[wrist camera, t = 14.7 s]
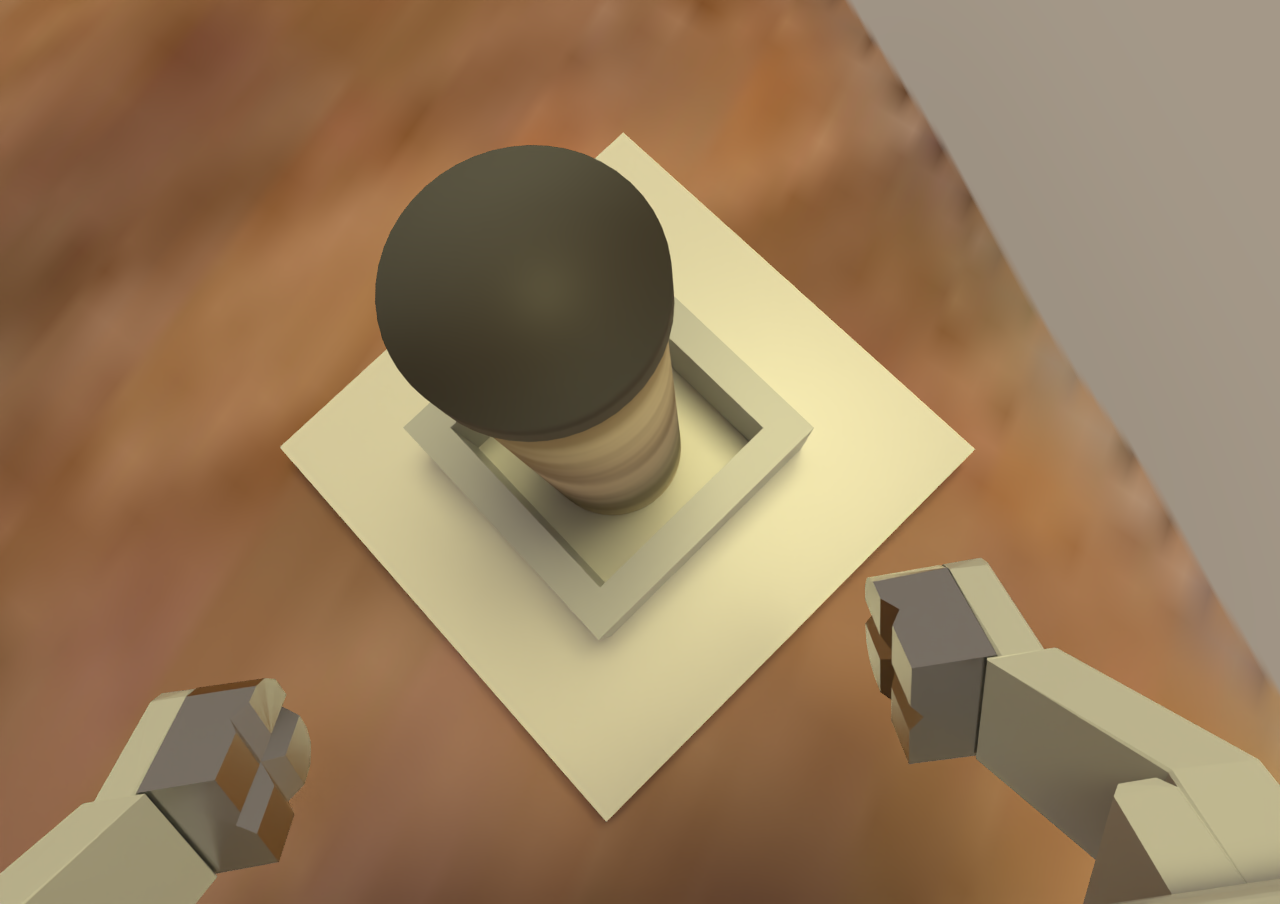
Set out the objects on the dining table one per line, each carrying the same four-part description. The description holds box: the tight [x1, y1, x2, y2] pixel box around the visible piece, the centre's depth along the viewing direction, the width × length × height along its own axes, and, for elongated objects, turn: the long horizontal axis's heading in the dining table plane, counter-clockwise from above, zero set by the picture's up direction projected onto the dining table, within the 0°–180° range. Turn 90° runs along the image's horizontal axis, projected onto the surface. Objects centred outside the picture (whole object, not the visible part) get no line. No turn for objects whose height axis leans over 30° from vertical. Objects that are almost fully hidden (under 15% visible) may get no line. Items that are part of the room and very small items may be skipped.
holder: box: [280, 133, 975, 822], centre depth 25 cm, size 16×16×4 cm
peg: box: [375, 145, 681, 515], centre depth 19 cm, size 5×5×13 cm
